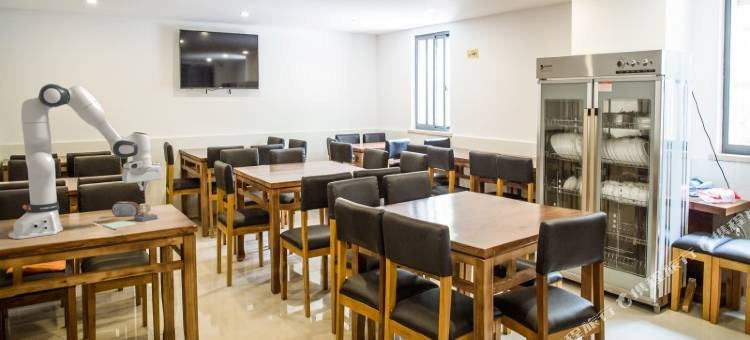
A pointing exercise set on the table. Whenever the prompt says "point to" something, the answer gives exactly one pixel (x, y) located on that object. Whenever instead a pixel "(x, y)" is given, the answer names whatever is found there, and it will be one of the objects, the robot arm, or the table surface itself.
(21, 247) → the table surface
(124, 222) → the green board
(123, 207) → the tin
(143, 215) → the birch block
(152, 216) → the pocket holder
